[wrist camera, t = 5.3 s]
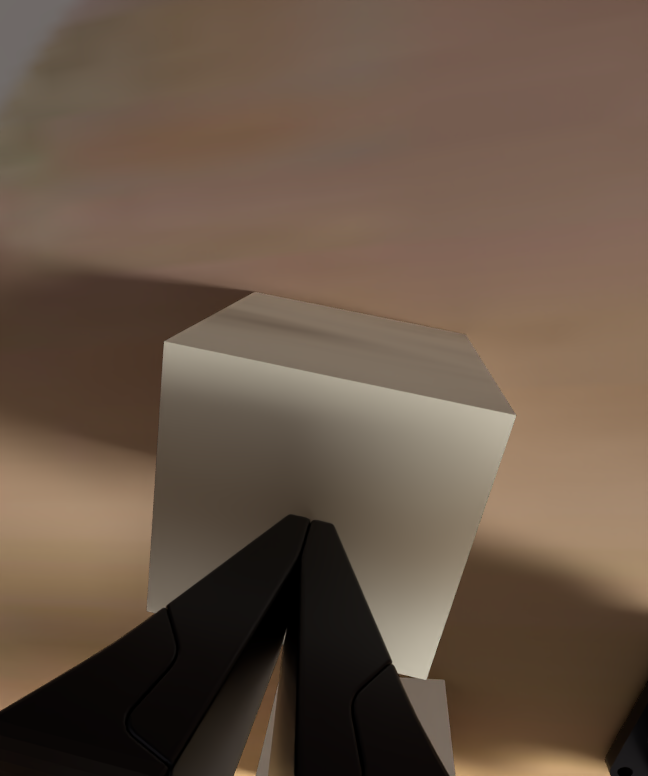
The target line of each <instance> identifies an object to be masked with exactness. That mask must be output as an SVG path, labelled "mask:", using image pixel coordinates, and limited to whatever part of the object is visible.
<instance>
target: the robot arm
mask: <svg viewBox="0 0 648 776" xmlns="http://www.w3.org/2000/svg"><path fill="white" fill-rule="evenodd" d="M286 629H287V630H286ZM285 633H286V635H285ZM284 637H285V640H284ZM283 641H284V645H283V652H282V659H281V667H280V676H279V685H278V693H277V702H276V711H275V719H274V728H273V737H272V745H271V754H270V763H269V771H268V776H450V775H449V774H448V772H447V770H446V768H445V767H444V765H443V763H442V761H441V760H440V758H439V756H438V754H437V752H436V751H435V749H434V747H433V745H432V743H431V741H430V739H429V738H428V736H427V734H426V732H425V730H424V728H423V726H422V725H421V723H420V721H419V719H418V717H417V715H416V713H415V711H414V708H413V706H412V704H411V702H410V700H409V698H408V696H407V693H406V691H405V689H404V687H403V685H402V682H401V680H400V677H399V675H398V673H397V670H396V668H395V666H394V665H393V664H392V659H391V657H390V654H389V652H388V650H387V647H386V645H385V643H384V640H383V638H382V636H381V633H380V631H379V629H378V626H377V624H376V622H375V619H374V617H373V615H372V612H371V610H370V608H369V605H368V603H367V601H366V598H365V596H364V594H363V591H362V589H361V587H360V584H359V582H358V580H357V577H356V575H355V573H354V570H353V568H352V566H351V563H350V561H349V559H348V556H347V554H346V552H345V549H344V547H343V544H342V542H341V540H340V537H339V535H338V533H337V530H336V528H335V526H334V525H333V524H332V523H329V522H324V521H320V520H312V521H311V523H310V519H309V518H307V517H302V516H298V515H294V514H289V515H287V516H285V517H284V518H283V519H281V520H280V521H279V522H277V523H276V524H275V525H273V526H272V527H271V528H269V529H268V530H267V531H265V532H264V533H263V534H261V535H260V536H259V537H257V538H256V539H255V540H253V541H252V542H251V543H249V544H248V545H246V546H245V547H244V548H242V549H241V550H240V551H238V552H237V553H236V554H234V555H233V556H232V557H230V558H229V559H228V560H226V561H225V562H224V563H222V564H221V565H220V566H218V567H217V568H216V569H214V570H213V571H212V572H210V573H209V574H208V575H206V576H205V577H204V578H202V579H201V580H200V581H198V582H197V583H195V584H194V585H193V586H191V587H190V588H189V589H187V590H186V591H185V592H183V593H182V594H181V595H179V596H178V597H177V598H175V599H174V600H173V601H171V602H170V603H169V604H167V605H166V608H162V609H160V610H159V611H158V612H156V613H155V614H154V615H152V616H151V617H150V618H148V619H147V620H145V621H144V622H143V623H141V624H140V625H138V626H137V627H136V628H134V629H133V630H131V631H130V632H128V633H127V634H126V635H124V636H123V637H121V638H120V639H118V640H117V641H115V642H114V643H112V644H111V645H109V646H107V647H106V648H104V649H103V650H101V651H99V652H98V653H96V654H95V655H93V656H91V657H90V658H88V659H87V660H85V661H83V662H82V663H80V664H79V665H77V666H75V667H73V668H72V669H70V670H68V671H67V672H65V673H63V674H62V675H60V676H58V677H57V678H55V679H53V680H52V681H50V682H48V683H47V684H45V685H43V686H41V687H40V688H38V689H36V690H35V691H33V692H31V693H30V694H28V695H26V696H25V697H23V698H21V699H20V700H18V701H16V702H15V703H13V704H11V705H9V706H8V707H6V708H4V709H3V710H1V711H0V776H234V773H235V771H236V768H237V765H238V763H239V760H240V757H241V755H242V752H243V749H244V747H245V744H246V741H247V739H248V736H249V733H250V731H251V728H252V725H253V723H254V720H255V717H256V715H257V712H258V709H259V707H260V704H261V701H262V699H263V696H264V694H265V691H266V688H267V686H268V683H269V680H270V678H271V675H272V672H273V670H274V667H275V664H276V662H277V659H278V656H279V653H280V650H281V647H282V644H283ZM605 762H606V765H607V767H608V770H609V772H610V775H611V776H648V682H647V684H646V686H645V687H644V689H643V691H642V693H641V695H640V696H639V698H638V700H637V702H636V704H635V705H634V707H633V709H632V711H631V713H630V714H629V716H628V718H627V720H626V721H625V723H624V725H623V727H622V729H621V730H620V732H619V734H618V736H617V738H616V739H615V741H614V743H613V745H612V747H611V748H610V750H609V752H608V754H607V756H606V758H605Z"/></svg>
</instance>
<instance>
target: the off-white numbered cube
mask: <svg viewBox="0 0 648 776" xmlns="http://www.w3.org/2000/svg"><path fill="white" fill-rule="evenodd" d="M400 680H401V682H402V685H403V687H404V689H405V691H406V693H407V696H408V698H409V700H410V702H411V704H412V706H413V708H414V711H415V713H416V715H417V717H418V719H419V721H420V723H421V725H422V726H423V728H424V730H425V732H426V734H427V736H428V738H429V739H430V741H431V743H432V745H433V747H434V749H435V751H436V752H437V754H438V756H439V758H440V760H441V761H442V763H443V765H444V767H445V768H446V770H447V772H448V774H449V775H450V776H455V767H454V758H453V749H452V741H451V732H450V723H449V714H448V705H447V696H446V687H445V680H442V679H426V680H423V679H419V678H402V677H400ZM278 685H279V682H278ZM277 693H278V687H277V691H276V695H275V699H274V703H273V707H272V711H271V715H270V719H269V723H268V728H267V732H266V736H265V740H264V744H263V748H262V752H261V756H260V760H259V764H258V768H257V773H256V776H268V771H269V763H270V754H271V745H272V737H273V728H274V719H275V711H276V702H277Z"/></svg>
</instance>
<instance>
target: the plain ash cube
mask: <svg viewBox="0 0 648 776" xmlns="http://www.w3.org/2000/svg"><path fill="white" fill-rule="evenodd" d="M515 418H516V414H515V412H514V411H513V409H512V408H511V406H510V404H509V403H508V401H507V400H506V398H505V396H504V395H503V393H502V392H501V390H500V388H499V387H498V385H497V384H496V382H495V380H494V379H493V377H492V376H491V374H490V372H489V371H488V369H487V368H486V366H485V364H484V363H483V361H482V360H481V358H480V356H479V355H478V353H477V352H476V350H475V348H474V347H473V345H472V344H471V342H470V340H469V339H468V337H467V336H466V334H462V333H457V332H452V331H447V330H442V329H437V328H432V327H427V326H422V325H417V324H412V323H407V322H403V321H398V320H393V319H388V318H383V317H378V316H373V315H368V314H363V313H358V312H353V311H348V310H343V309H338V308H333V307H328V306H323V305H318V304H313V303H308V302H303V301H298V300H293V299H288V298H283V297H278V296H273V295H268V294H263V293H258V292H253V293H252V294H250V295H248V296H246V297H244V298H242V299H241V300H239V301H237V302H235V303H233V304H231V305H230V306H228V307H226V308H224V309H222V310H220V311H219V312H217V313H215V314H213V315H211V316H209V317H208V318H206V319H204V320H202V321H200V322H198V323H197V324H195V325H193V326H191V327H189V328H187V329H186V330H184V331H182V332H180V333H178V334H176V335H175V336H173V337H171V338H169V339H167V340H165V341H164V350H163V365H162V381H161V396H160V412H159V427H158V443H157V458H156V474H155V489H154V505H153V520H152V536H151V551H150V567H149V582H148V597H147V611H148V612H152V613H156V612H158V611H159V610H160V609H162V608H166V605H167V604H169V603H170V602H171V601H173V600H174V599H175V598H177V597H178V596H179V595H181V594H182V593H183V592H185V591H186V590H187V589H189V588H190V587H191V586H193V585H194V584H195V583H197V582H198V581H200V580H201V579H202V578H204V577H205V576H206V575H208V574H209V573H210V572H212V571H213V570H214V569H216V568H217V567H218V566H220V565H221V564H222V563H224V562H225V561H226V560H228V559H229V558H230V557H232V556H233V555H234V554H236V553H237V552H238V551H240V550H241V549H242V548H244V547H245V546H246V545H248V544H249V543H251V542H252V541H253V540H255V539H256V538H257V537H259V536H260V535H261V534H263V533H264V532H265V531H267V530H268V529H269V528H271V527H272V526H273V525H275V524H276V523H277V522H279V521H280V520H281V519H283V518H284V517H285V516H287V515H289V514H294V515H298V516H302V517H307V518H309V519H310V523H311V521H312V520H320V521H324V522H329V523H332V524H333V525H334V526H335V528H336V530H337V533H338V535H339V537H340V540H341V542H342V544H343V547H344V549H345V552H346V554H347V556H348V559H349V561H350V563H351V566H352V568H353V570H354V573H355V575H356V577H357V580H358V582H359V584H360V587H361V589H362V591H363V594H364V596H365V598H366V601H367V603H368V605H369V608H370V610H371V612H372V615H373V617H374V619H375V622H376V624H377V626H378V629H379V631H380V633H381V636H382V638H383V640H384V643H385V645H386V647H387V650H388V652H389V654H390V657H391V659H392V664H393V665H394V666H395V668H396V670H397V673H399V674H403V675H407V676H411V677H415V678H419V679H423V680H426V679H427V676H428V673H429V670H430V667H431V664H432V661H433V658H434V656H435V653H436V650H437V647H438V644H439V641H440V638H441V635H442V632H443V629H444V626H445V623H446V620H447V617H448V614H449V612H450V609H451V606H452V603H453V600H454V597H455V594H456V591H457V588H458V585H459V582H460V579H461V576H462V573H463V570H464V567H465V565H466V562H467V559H468V556H469V553H470V550H471V547H472V544H473V541H474V538H475V535H476V532H477V529H478V526H479V523H480V520H481V518H482V515H483V512H484V509H485V506H486V503H487V500H488V497H489V494H490V491H491V488H492V485H493V482H494V479H495V476H496V474H497V471H498V468H499V465H500V462H501V459H502V456H503V453H504V450H505V447H506V444H507V441H508V438H509V435H510V432H511V429H512V427H513V424H514V421H515ZM286 630H287V629H286ZM285 635H286V633H285ZM284 640H285V637H284ZM282 645H284V641H283V644H282Z"/></svg>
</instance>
